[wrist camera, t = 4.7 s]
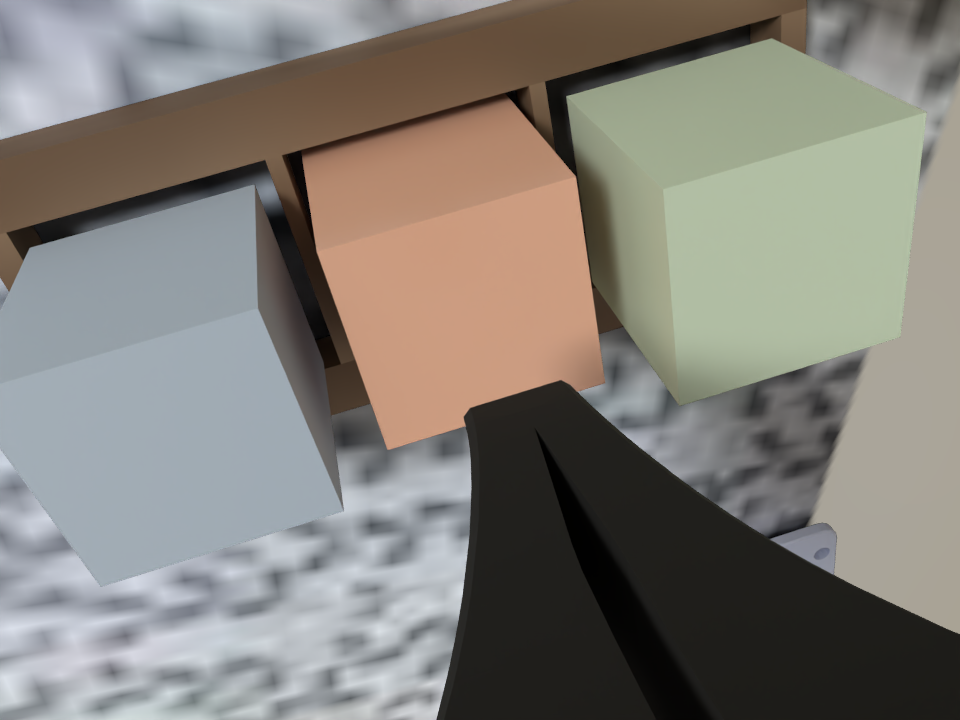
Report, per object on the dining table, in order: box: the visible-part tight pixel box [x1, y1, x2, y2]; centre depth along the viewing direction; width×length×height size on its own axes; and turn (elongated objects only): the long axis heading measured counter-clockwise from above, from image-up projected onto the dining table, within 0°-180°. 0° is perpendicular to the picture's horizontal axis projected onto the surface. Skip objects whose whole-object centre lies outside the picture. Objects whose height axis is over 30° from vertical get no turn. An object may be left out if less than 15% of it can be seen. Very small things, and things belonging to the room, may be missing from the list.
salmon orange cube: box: [301, 93, 605, 450], centre depth 15 cm, size 4×4×4 cm
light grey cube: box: [0, 184, 344, 587], centre depth 14 cm, size 4×4×4 cm
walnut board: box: [0, 0, 807, 415], centre depth 17 cm, size 7×15×1 cm, turn 101°
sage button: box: [566, 38, 927, 406], centre depth 15 cm, size 4×4×4 cm
